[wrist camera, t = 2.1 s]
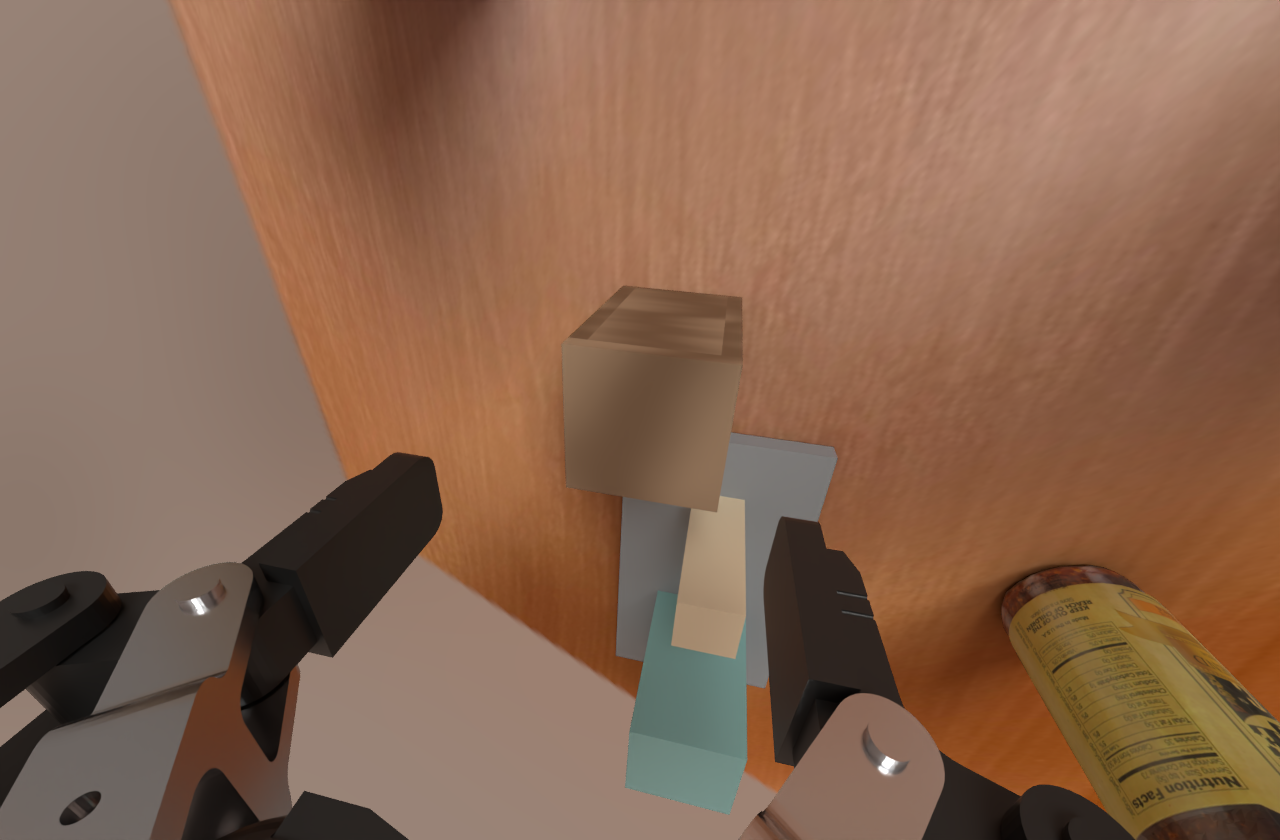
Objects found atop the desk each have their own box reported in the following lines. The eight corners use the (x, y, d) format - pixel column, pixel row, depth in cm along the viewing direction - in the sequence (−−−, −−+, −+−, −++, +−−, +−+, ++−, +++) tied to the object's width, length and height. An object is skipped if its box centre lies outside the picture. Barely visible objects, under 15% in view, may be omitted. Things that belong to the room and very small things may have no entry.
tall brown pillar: (741, 297, 19) (742, 365, 12) (724, 406, 22) (717, 512, 15) (623, 285, 20) (561, 343, 13) (619, 391, 23) (566, 487, 16)
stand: (834, 447, 22) (884, 597, 14) (764, 673, 30) (772, 844, 23) (630, 418, 23) (574, 540, 15) (619, 642, 32) (579, 793, 24)
